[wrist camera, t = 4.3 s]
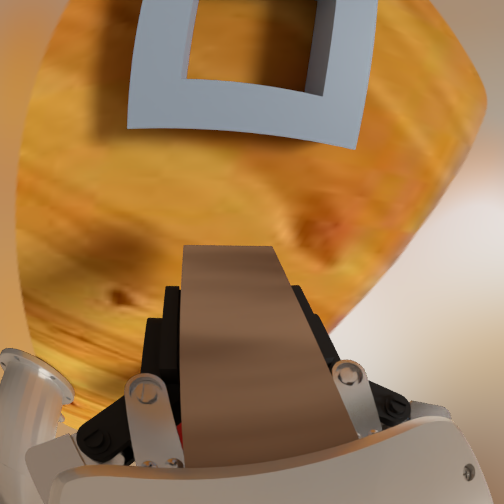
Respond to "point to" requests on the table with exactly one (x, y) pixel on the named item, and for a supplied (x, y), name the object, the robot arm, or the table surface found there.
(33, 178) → the table surface
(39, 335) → the table surface
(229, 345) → the walnut peg
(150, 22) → the grey square frame
